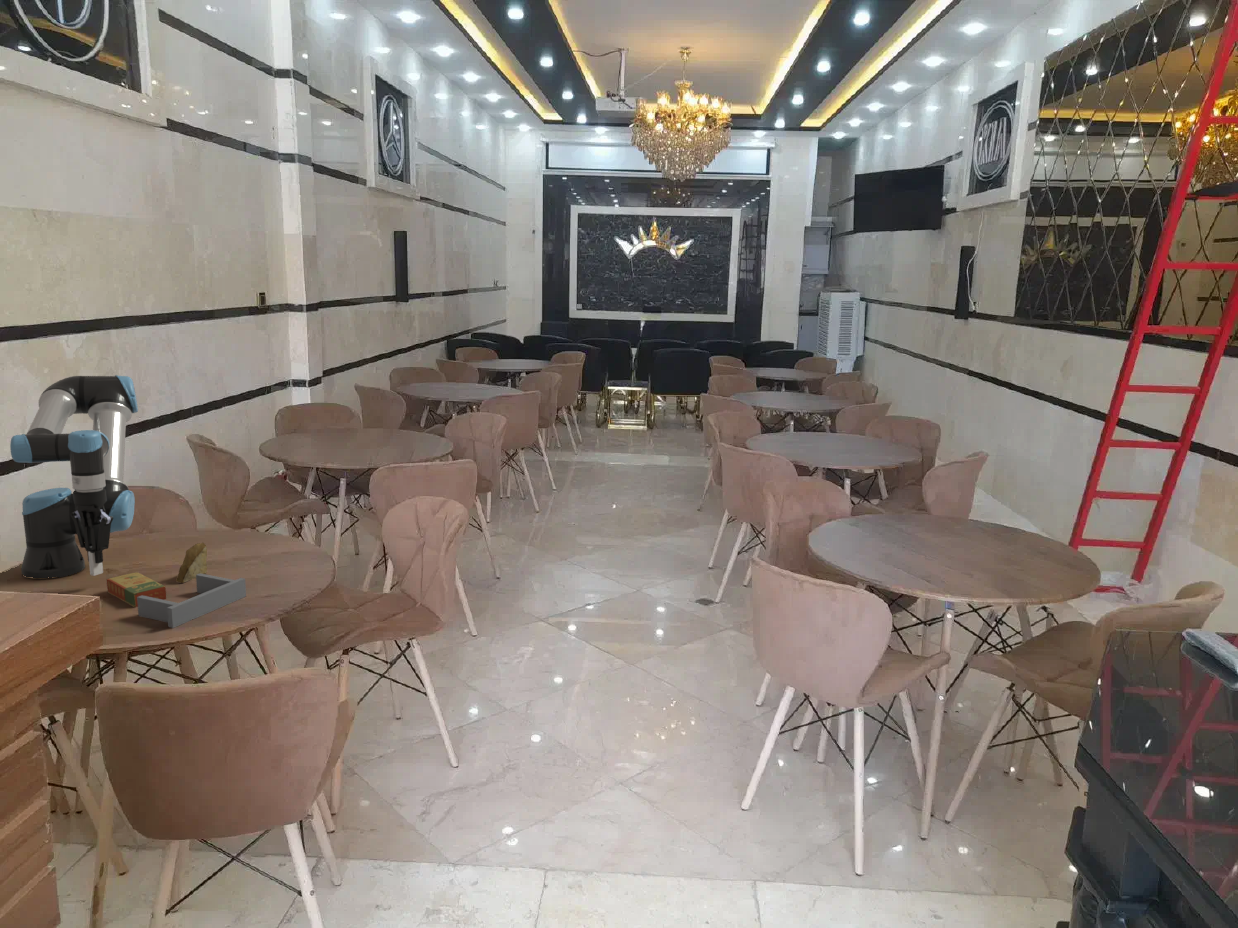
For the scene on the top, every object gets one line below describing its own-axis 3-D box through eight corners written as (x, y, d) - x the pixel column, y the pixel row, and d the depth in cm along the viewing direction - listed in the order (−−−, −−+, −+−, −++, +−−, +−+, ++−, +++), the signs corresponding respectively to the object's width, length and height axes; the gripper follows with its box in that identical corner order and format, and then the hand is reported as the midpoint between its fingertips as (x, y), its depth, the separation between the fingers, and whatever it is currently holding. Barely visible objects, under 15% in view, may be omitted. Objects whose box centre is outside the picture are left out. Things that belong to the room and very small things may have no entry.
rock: (182, 579, 237) (217, 566, 244) (168, 552, 238) (204, 540, 245) (173, 592, 244) (207, 579, 251) (160, 566, 245) (194, 554, 252)
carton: (139, 585, 238) (138, 570, 237) (167, 600, 229) (166, 584, 228) (106, 593, 231) (105, 578, 231) (134, 608, 222) (133, 592, 221)
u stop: (131, 618, 215) (130, 599, 214) (207, 588, 237) (206, 571, 236) (173, 627, 210) (171, 608, 209) (246, 596, 232) (245, 578, 231)
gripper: (58, 489, 227) (66, 574, 232) (94, 494, 223) (102, 581, 228) (84, 483, 234) (91, 566, 239) (120, 488, 230) (126, 573, 235)
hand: (96, 573), depth 233 cm, fingers closed
